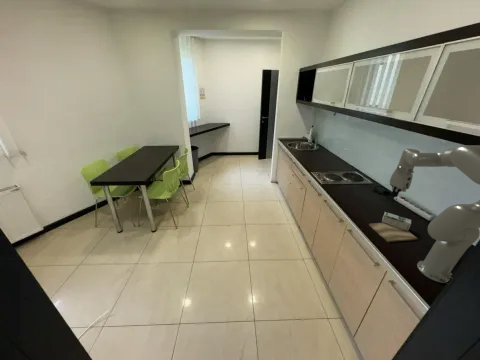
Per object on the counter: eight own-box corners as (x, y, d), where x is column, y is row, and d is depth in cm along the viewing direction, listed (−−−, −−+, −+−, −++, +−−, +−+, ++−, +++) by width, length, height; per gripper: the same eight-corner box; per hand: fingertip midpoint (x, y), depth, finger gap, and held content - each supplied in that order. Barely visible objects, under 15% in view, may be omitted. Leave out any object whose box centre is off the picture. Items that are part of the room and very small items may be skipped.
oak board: (416, 239, 121) (417, 238, 120) (387, 242, 119) (388, 240, 118) (395, 223, 135) (395, 221, 135) (368, 225, 133) (369, 223, 132)
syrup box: (385, 211, 136) (411, 219, 128) (382, 218, 138) (408, 226, 130) (384, 215, 132) (411, 223, 124) (381, 222, 134) (408, 231, 126)
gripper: (422, 174, 111) (409, 202, 118) (399, 165, 124) (389, 190, 132) (410, 174, 110) (398, 202, 117) (388, 165, 123) (379, 191, 131)
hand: (393, 196), depth 124 cm, fingers closed
